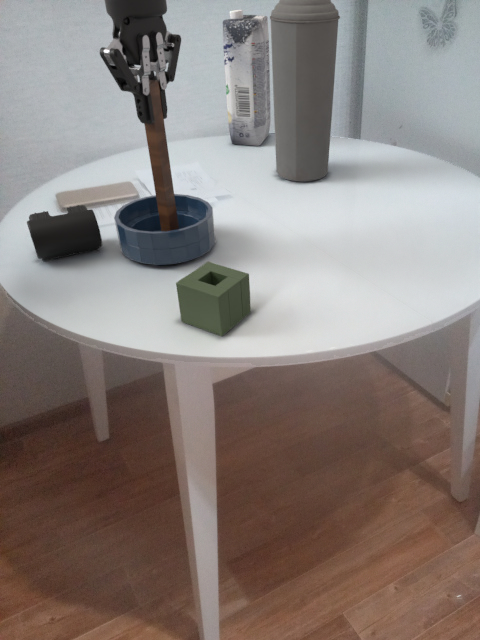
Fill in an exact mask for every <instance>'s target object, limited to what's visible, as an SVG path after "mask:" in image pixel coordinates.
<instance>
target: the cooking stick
mask: <svg viewBox="0 0 480 640" xmlns="http://www.w3.org/2000/svg"><path fill="white" fill-rule="evenodd" d="M138 83H139V84H140V81H138ZM149 89H150V92H149V95H151V98H152V105H153V111H154V118H155V122H154V123H153V124H144V123H143V125H144V130H145V131H144V132H145V136H146V137H145V138H146V142H147V149H148V155H149V159H150V160H149V161H150V168H151V173H152V174H151V175H152V180H153V186H154V193H155V195H156V199H157V205H158V212H159V218H160V224H161V230H162V231H171V230H177V229H179V225H178V218H177V211H176V204H175V196H174V194H175V191H174V183H173V175H172V169H171V161H170V155H169V146H168V140H167V133H166V126H165V125H166V124H165V119H164V118H163V111H162V103H161V96H160V89H159V82H158V81H156V80H149Z"/></svg>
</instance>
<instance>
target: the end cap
mask: <svg viewBox="0 0 480 640" xmlns="http://www.w3.org/2000/svg"><path fill="white" fill-rule="evenodd" d="M66 211H67V213H63V214H57V215H51V214H50V213H49V211H48V210H47V211H45V210H43V211H41V212H34V213H31V214H29V216H28V219H29V220H27V221H26V225H27V228H28V232H29V234H30V237H31V240H32V244H33V247H34V251H35V253H36V256H37V259H39V260H41V261H42V262H43V261H48V260H54V259H59V258H63V257H64V258H65V257H67V256H68V257H69V256H73V255H79V254H83V253H88V252H93V251H97V250H100V248H101V247H102V246H103V240H102V239H103V238H102V234H101V230H100V227H99V222H98V220H97V217H96V214H95V211H94V210H93V209H88V207H87V206H86V205H83V204H82V205H80V204H78V205H75V206H69V207H66Z"/></svg>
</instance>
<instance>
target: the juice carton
mask: <svg viewBox="0 0 480 640" xmlns="http://www.w3.org/2000/svg"><path fill="white" fill-rule="evenodd" d="M268 22H269V21H268V16H267V15H261V14H260V15H259V14H244V11H243V9H235V10H230V11H229V18H226V19H224V20H222V45H223V63H224V77H225V95H226V110H227V122H228V123H227V124H228V131H229V136H230V137H229V138H230V141H231V143H232V144H233V145H239V146H240V145H241V146H255V147H258V146H261V145H262V144H263V142H264V141H266V139H267V138H268V137H269V135H270V128H271V76H270V75H271V74H270V73H271V72H270V33H269V23H268Z"/></svg>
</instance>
